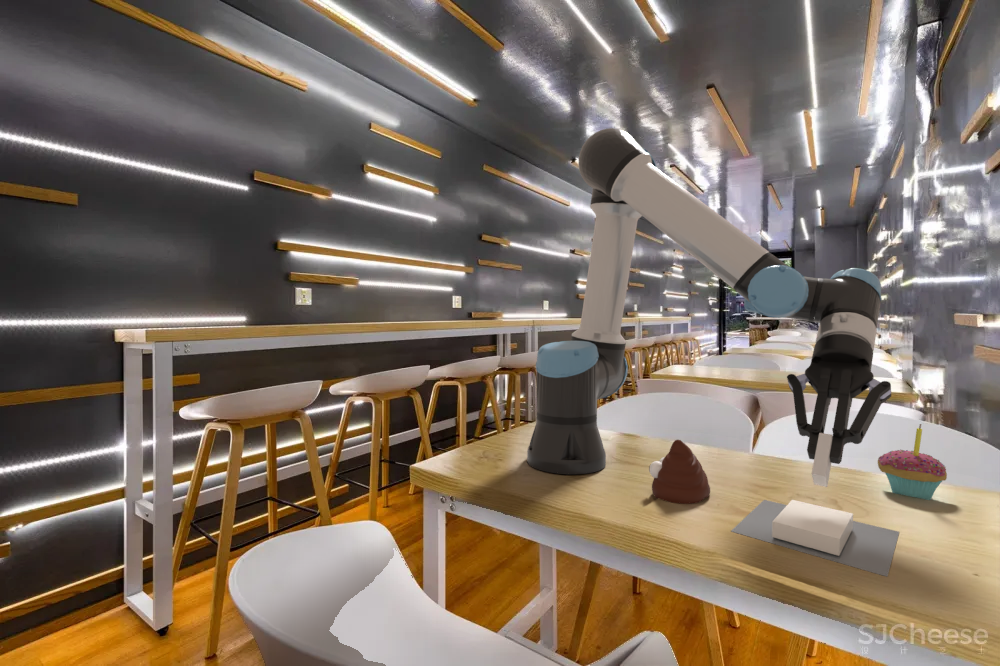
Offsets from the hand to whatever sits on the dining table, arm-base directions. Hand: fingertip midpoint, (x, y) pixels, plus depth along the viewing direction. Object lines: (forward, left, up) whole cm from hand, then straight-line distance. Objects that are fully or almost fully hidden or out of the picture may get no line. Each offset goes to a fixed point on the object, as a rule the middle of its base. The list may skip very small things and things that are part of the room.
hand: (819, 480), depth 64 cm
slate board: (0, -1, -7) cm, 7 cm away
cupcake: (+8, +26, -7) cm, 28 cm away
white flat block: (0, +2, -5) cm, 6 cm away
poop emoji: (-19, 0, -7) cm, 20 cm away
